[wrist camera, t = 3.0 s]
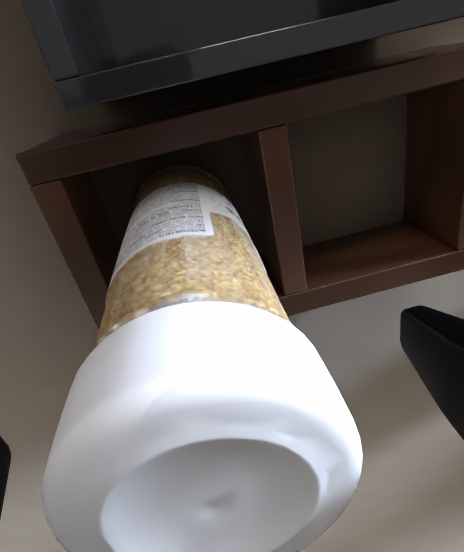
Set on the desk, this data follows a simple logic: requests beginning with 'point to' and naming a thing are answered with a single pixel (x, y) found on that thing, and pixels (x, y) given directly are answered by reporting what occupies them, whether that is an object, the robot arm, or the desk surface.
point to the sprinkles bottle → (197, 397)
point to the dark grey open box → (200, 38)
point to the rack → (282, 180)
